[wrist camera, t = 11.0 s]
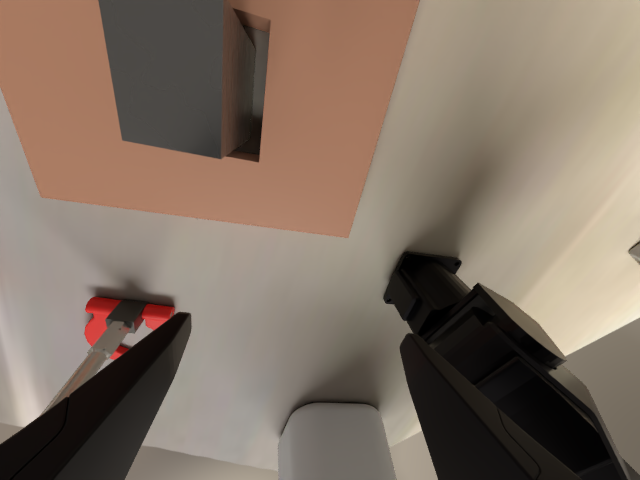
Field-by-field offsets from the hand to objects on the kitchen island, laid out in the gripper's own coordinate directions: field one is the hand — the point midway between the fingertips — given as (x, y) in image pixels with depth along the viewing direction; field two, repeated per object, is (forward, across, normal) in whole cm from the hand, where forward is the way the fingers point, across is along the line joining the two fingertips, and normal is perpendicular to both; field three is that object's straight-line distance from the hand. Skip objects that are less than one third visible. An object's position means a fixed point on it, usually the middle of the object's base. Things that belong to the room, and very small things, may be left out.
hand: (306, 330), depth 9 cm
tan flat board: (+11, +6, -8) cm, 15 cm away
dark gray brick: (+12, +6, -8) cm, 15 cm away
